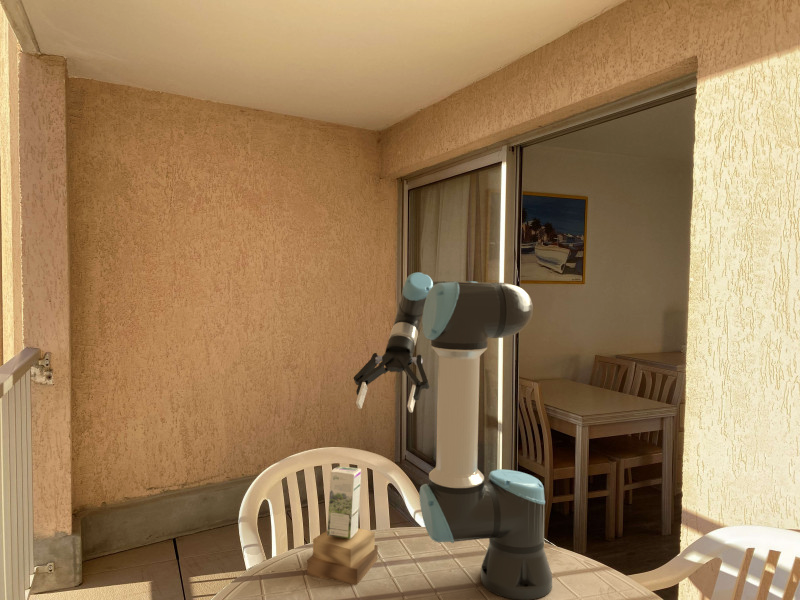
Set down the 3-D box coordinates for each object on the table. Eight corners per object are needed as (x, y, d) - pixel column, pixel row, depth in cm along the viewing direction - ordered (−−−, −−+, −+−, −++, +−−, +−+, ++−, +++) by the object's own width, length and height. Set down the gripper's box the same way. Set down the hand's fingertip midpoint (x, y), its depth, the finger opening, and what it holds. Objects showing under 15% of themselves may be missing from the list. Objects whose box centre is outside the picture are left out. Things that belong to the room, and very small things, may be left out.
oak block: (374, 549, 131) (374, 532, 130) (350, 567, 122) (350, 549, 122) (338, 539, 135) (338, 523, 135) (313, 557, 126) (313, 539, 126)
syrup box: (358, 531, 131) (362, 467, 132) (350, 539, 125) (354, 473, 126) (335, 528, 132) (338, 465, 133) (326, 536, 126) (330, 470, 127)
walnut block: (377, 562, 133) (377, 545, 133) (357, 587, 121) (357, 568, 121) (331, 554, 136) (331, 537, 136) (307, 578, 125) (307, 560, 125)
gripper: (448, 353, 155) (434, 419, 141) (363, 350, 162) (342, 412, 148) (443, 335, 150) (429, 402, 136) (356, 332, 157) (333, 396, 143)
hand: (383, 407), depth 142 cm, fingers open, 13 cm apart
